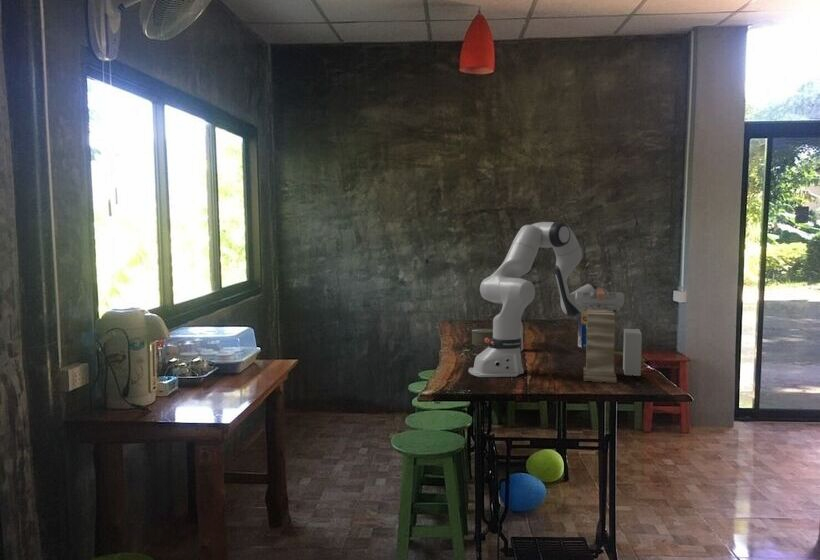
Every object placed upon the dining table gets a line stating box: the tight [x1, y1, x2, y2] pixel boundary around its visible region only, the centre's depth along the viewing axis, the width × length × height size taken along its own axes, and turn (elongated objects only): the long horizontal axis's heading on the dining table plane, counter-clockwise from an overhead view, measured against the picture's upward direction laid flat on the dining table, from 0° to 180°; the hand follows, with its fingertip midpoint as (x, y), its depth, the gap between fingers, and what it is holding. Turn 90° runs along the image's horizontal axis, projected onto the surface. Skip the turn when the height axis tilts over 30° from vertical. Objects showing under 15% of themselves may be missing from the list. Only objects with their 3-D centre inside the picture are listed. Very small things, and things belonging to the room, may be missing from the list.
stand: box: [582, 309, 617, 384], centre depth 251 cm, size 18×12×26 cm, turn 165°
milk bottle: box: [520, 321, 524, 352], centre depth 307 cm, size 8×8×20 cm
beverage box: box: [577, 308, 589, 349], centre depth 315 cm, size 7×11×22 cm, turn 90°
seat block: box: [622, 328, 643, 377], centre depth 259 cm, size 12×6×17 cm, turn 165°
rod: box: [597, 287, 605, 300], centre depth 258 cm, size 25×2×2 cm, turn 165°
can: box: [471, 328, 493, 347], centre depth 326 cm, size 12×12×7 cm
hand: (599, 291), depth 266 cm, fingers closed on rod, 2 cm apart
